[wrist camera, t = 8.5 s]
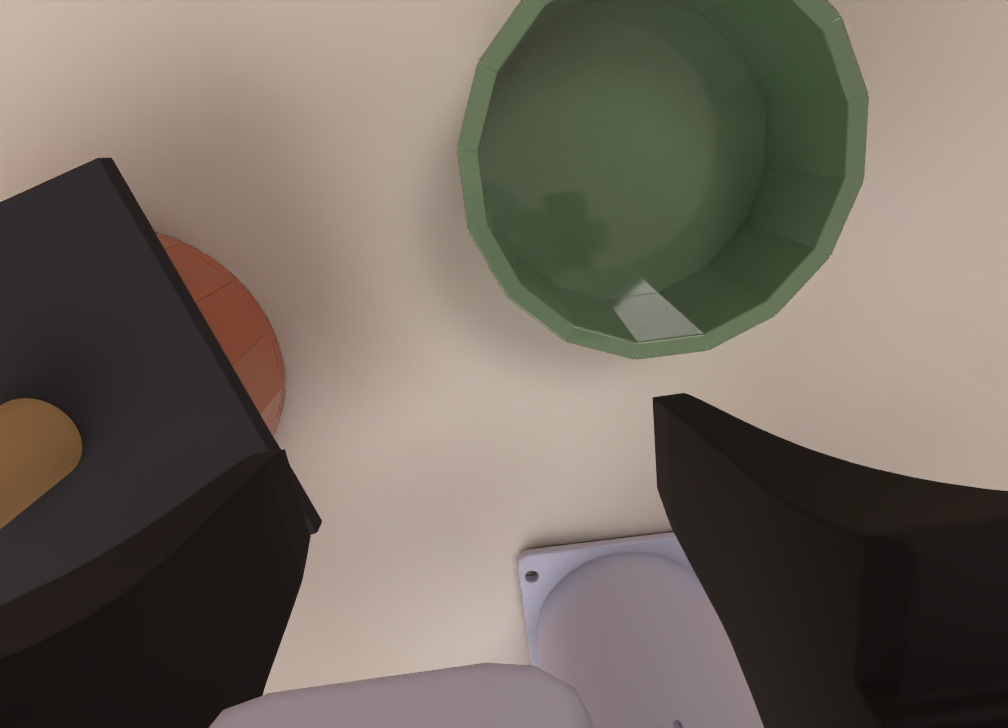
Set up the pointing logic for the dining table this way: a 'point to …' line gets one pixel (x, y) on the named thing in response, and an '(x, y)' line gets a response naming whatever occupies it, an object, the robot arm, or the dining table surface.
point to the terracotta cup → (234, 326)
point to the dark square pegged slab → (103, 380)
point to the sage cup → (661, 164)
